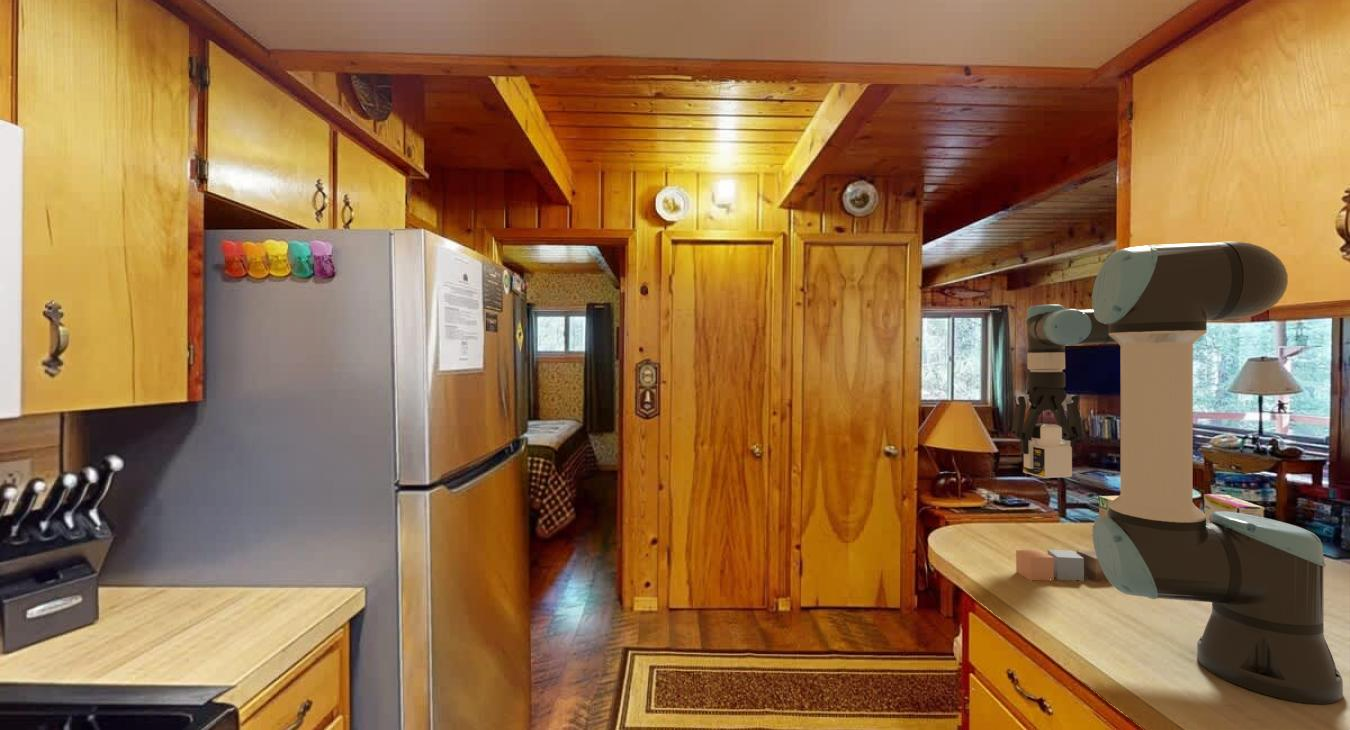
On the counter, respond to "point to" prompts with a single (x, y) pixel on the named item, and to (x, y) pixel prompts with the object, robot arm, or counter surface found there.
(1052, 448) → the medicine bottle
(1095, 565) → the walnut cube
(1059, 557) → the slate blue cube
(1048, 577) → the terracotta cube
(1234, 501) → the candy bar box
